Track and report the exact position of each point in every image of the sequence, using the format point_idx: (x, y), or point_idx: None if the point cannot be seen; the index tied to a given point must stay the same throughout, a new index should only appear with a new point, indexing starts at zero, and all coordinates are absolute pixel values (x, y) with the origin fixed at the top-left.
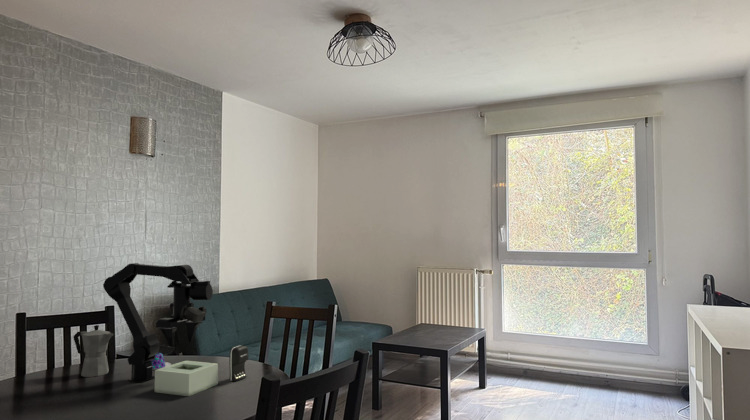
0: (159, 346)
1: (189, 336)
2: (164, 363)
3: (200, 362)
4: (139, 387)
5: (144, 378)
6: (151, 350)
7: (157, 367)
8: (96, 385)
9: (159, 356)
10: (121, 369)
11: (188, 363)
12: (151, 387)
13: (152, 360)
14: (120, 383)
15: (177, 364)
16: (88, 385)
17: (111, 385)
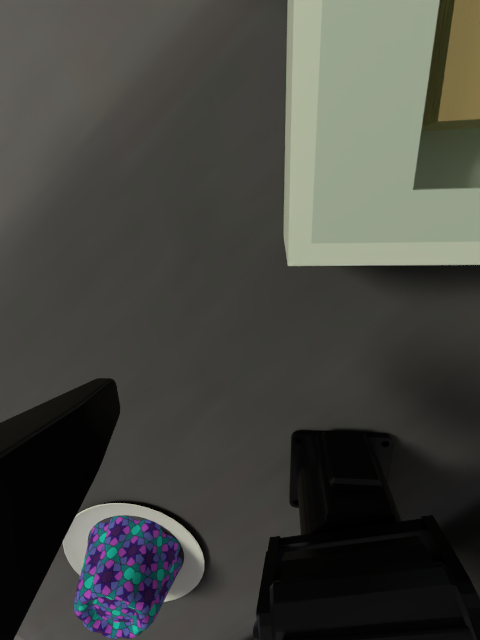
0: (276, 602)
1: (81, 461)
2: (97, 536)
3: (313, 25)
4: (473, 383)
5: (369, 444)
6: (420, 579)
7: (150, 528)
8: (471, 566)
9: (111, 583)
10: (226, 625)
11: (390, 137)
12: (462, 324)
13: (152, 579)
14: (420, 506)
15: (451, 223)
16: (476, 589)
17: (460, 517)
